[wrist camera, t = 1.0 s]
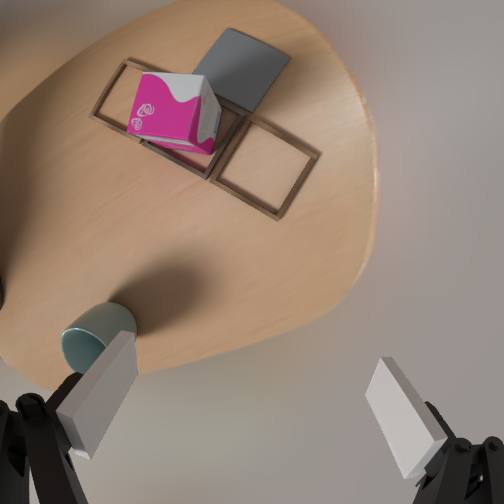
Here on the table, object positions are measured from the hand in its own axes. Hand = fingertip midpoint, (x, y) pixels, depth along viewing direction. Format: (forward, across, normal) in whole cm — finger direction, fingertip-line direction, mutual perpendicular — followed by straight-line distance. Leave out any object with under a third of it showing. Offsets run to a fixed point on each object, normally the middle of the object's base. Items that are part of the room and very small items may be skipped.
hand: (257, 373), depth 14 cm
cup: (+21, -18, -10) cm, 30 cm away
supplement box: (+21, -9, +15) cm, 28 cm away
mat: (+21, -5, +24) cm, 32 cm away
